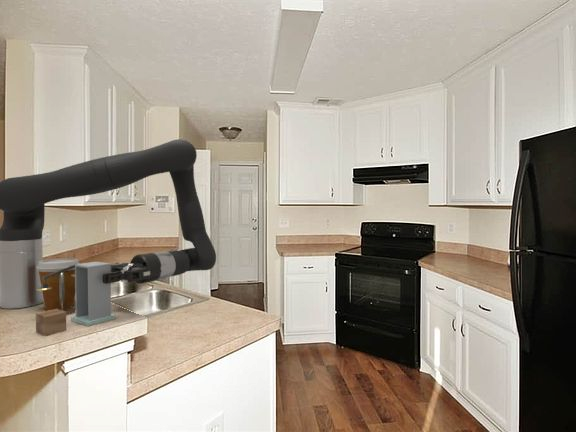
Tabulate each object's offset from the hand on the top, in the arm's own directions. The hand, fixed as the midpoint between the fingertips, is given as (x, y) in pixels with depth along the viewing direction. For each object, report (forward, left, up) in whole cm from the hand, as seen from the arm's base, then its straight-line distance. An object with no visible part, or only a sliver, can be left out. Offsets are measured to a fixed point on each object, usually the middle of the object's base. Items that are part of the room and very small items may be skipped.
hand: (93, 277), depth 82 cm
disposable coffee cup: (-17, +1, -10) cm, 20 cm away
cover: (0, 0, -9) cm, 9 cm away
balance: (-11, -2, -10) cm, 15 cm away
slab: (0, 0, -10) cm, 10 cm away
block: (0, -9, -10) cm, 13 cm away
